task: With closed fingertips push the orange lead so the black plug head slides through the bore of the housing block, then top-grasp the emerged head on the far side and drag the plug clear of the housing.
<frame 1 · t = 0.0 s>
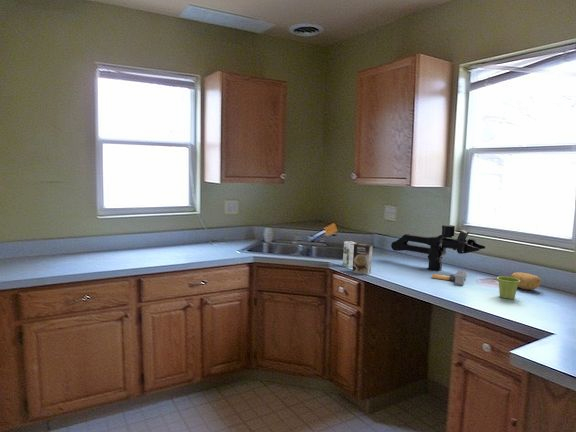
hand: (482, 248, 222), 17 cm above the worktop, tool horizontal, fingers open, 9 cm apart
plug: (454, 281, 217), on the worktop
syrup box: (349, 266, 244), on the worktop
potato: (524, 289, 206), on the worktop
coffee box: (361, 273, 228), on the worktop
plant pot: (506, 297, 191), on the worktop
housing: (460, 281, 215), on the worktop
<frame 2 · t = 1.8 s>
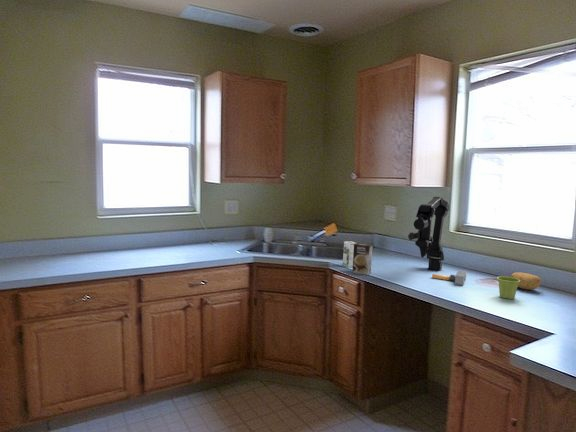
hand: (423, 256, 223), 11 cm above the worktop, tool pointing down, fingers open, 5 cm apart
nothing on the worktop moved.
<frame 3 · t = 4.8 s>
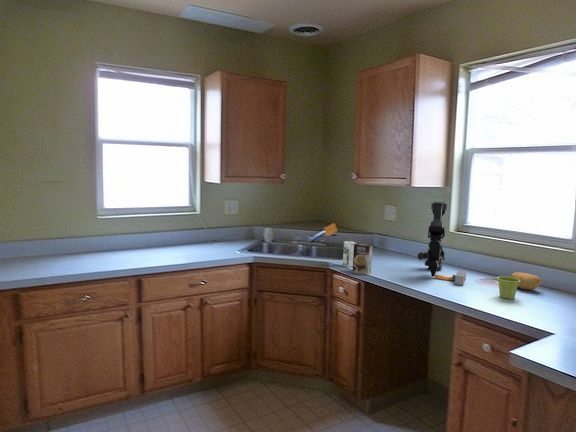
hand: (432, 276, 221), 1 cm above the worktop, tool pointing down, fingers closed, pressing on plug
plug: (456, 281, 216), on the worktop, touching gripper
everything else where it was.
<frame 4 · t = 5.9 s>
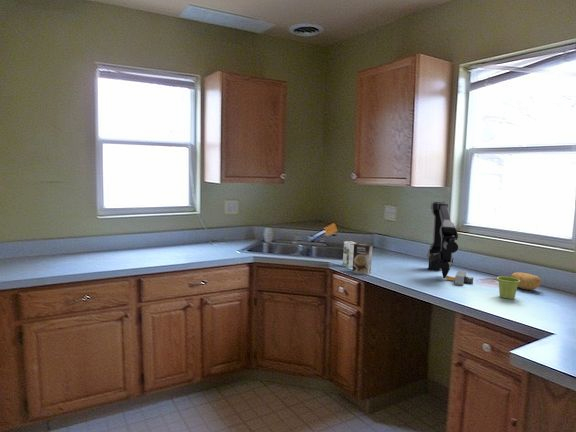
hand: (444, 278, 219), 1 cm above the worktop, tool pointing down, fingers closed, pressing on plug
plug: (468, 283, 213), on the worktop, touching gripper
everything else where it was.
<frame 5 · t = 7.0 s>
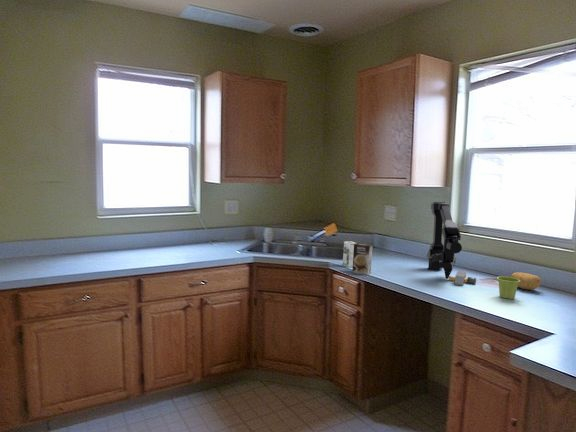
hand: (446, 278, 218), 1 cm above the worktop, tool pointing down, fingers closed
plug: (471, 283, 213), on the worktop
everything else where it was.
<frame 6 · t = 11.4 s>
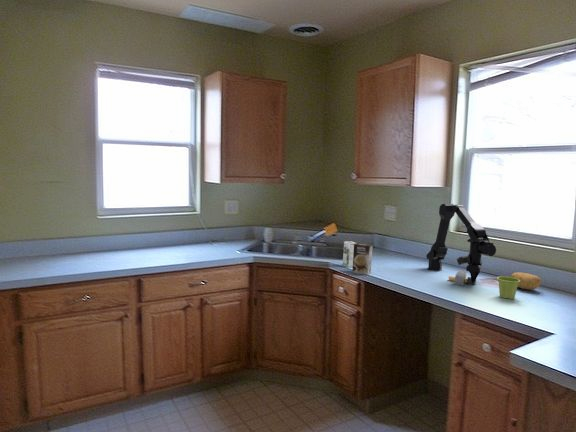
hand: (473, 281, 212), 1 cm above the worktop, tool pointing down, fingers closed on plug, 3 cm apart
plug: (471, 283, 213), on the worktop, touching gripper
everything else where it was.
when the fingers open (1 cm above the worktop, at t = 12.9 s): plug stays where it is, on the worktop.
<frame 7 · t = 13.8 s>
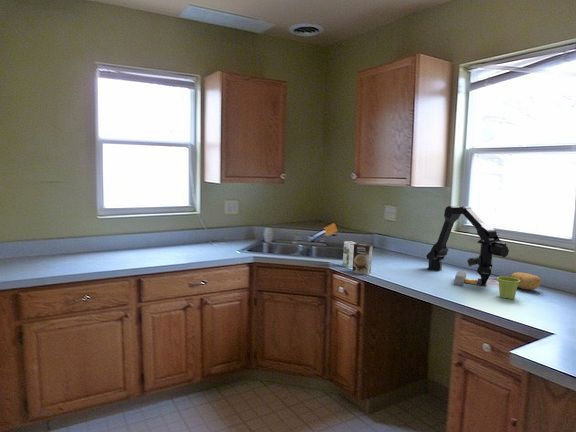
hand: (483, 283, 210), 1 cm above the worktop, tool pointing down, fingers open, 9 cm apart
plug: (481, 285, 210), on the worktop
everything else where it was.
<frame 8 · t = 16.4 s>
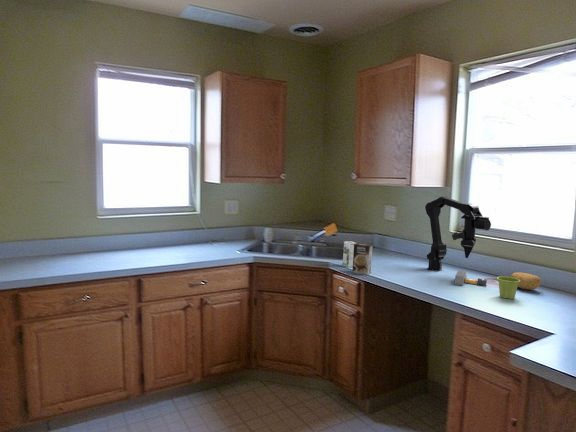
hand: (467, 256, 222), 12 cm above the worktop, tool pointing down, fingers open, 9 cm apart
nothing on the worktop moved.
at the end: plug inside the target area on the worktop beside the housing (2.4 cm from its centre), on the worktop; the gripper is holding nothing; plug on the worktop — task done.
